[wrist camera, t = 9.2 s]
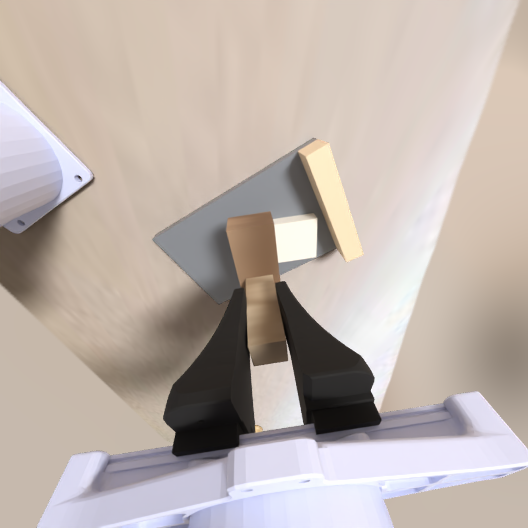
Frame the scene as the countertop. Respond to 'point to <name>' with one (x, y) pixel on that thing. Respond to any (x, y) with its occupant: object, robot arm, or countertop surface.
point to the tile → (296, 237)
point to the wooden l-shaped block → (259, 284)
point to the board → (257, 201)
